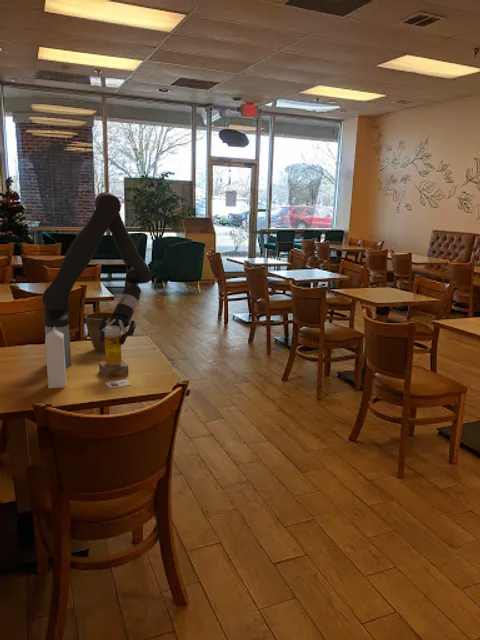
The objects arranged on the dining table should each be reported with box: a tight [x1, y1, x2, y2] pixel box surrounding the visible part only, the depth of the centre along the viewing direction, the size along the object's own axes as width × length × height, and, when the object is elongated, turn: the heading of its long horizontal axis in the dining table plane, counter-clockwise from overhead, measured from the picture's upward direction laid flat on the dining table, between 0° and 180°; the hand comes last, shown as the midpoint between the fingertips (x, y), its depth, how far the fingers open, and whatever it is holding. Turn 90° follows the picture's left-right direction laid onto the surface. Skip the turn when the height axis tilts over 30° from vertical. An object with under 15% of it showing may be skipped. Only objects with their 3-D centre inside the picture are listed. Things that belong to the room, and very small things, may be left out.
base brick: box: [98, 359, 129, 380], centre depth 200 cm, size 9×9×4 cm
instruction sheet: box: [104, 378, 131, 390], centre depth 189 cm, size 8×6×1 cm
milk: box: [44, 326, 67, 389], centre depth 184 cm, size 6×6×22 cm
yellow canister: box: [104, 325, 123, 366], centre depth 198 cm, size 6×6×15 cm
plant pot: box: [84, 311, 113, 353], centre depth 228 cm, size 15×15×16 cm
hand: (110, 342), depth 196 cm, fingers open, 8 cm apart
